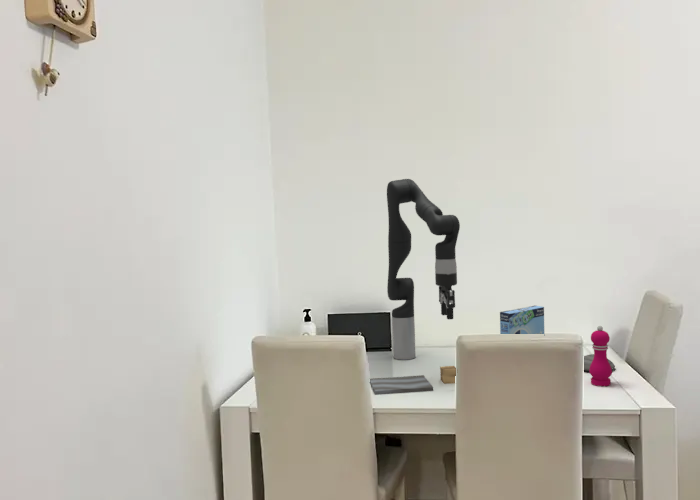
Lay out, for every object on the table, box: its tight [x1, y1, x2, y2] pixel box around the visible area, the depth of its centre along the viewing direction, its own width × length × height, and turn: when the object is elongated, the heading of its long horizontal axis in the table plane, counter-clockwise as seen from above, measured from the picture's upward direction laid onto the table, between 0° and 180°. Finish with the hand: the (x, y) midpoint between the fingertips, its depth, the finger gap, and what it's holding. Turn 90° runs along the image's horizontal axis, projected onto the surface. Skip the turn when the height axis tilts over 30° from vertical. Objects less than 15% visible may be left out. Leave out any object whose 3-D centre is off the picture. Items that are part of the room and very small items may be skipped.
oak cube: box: [439, 365, 457, 385], centre depth 234 cm, size 5×5×5 cm
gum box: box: [499, 305, 545, 335], centre depth 246 cm, size 19×5×23 cm, turn 123°
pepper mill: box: [588, 325, 613, 387], centre depth 223 cm, size 7×7×20 cm
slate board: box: [369, 374, 434, 395], centre depth 230 cm, size 16×20×1 cm
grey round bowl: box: [583, 353, 616, 372], centre depth 244 cm, size 15×15×6 cm
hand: (447, 317), depth 233 cm, fingers open, 8 cm apart
